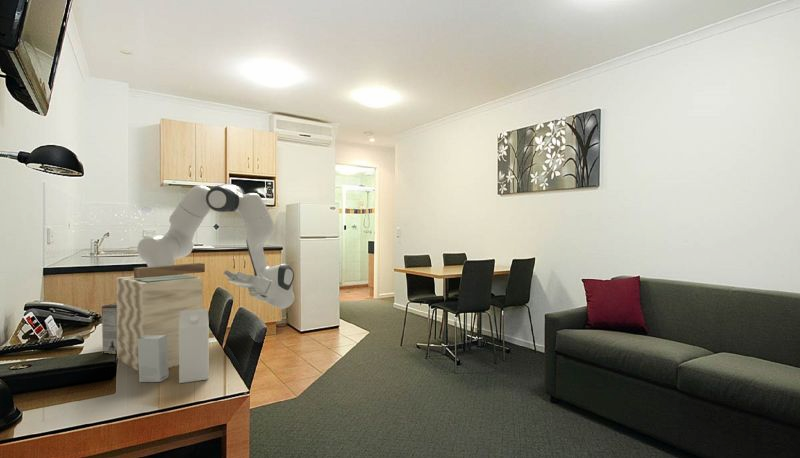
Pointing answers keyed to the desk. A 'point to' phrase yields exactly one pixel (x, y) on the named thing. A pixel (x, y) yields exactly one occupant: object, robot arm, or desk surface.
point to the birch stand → (153, 312)
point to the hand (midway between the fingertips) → (231, 273)
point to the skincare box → (153, 358)
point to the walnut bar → (168, 270)
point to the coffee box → (109, 327)
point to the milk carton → (193, 345)
